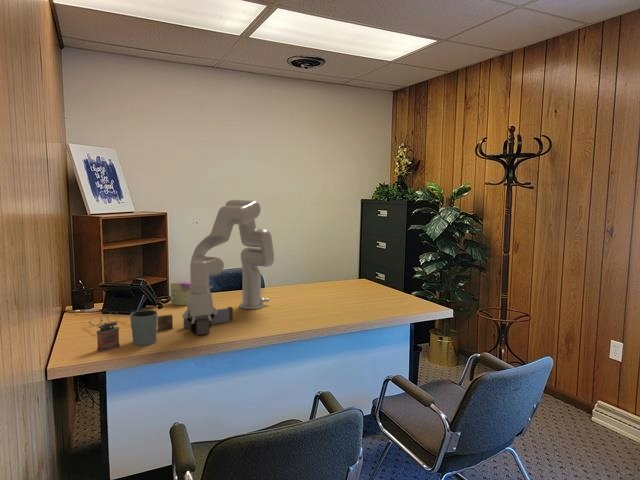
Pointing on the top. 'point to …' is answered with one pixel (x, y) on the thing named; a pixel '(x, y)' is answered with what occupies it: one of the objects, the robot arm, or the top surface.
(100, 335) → the lighter
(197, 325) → the dark boxy piece
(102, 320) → the eyeglasses
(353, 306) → the top surface
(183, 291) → the box
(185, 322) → the blue-grey long block
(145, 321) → the grey-green cup
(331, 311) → the top surface
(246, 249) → the robot arm
